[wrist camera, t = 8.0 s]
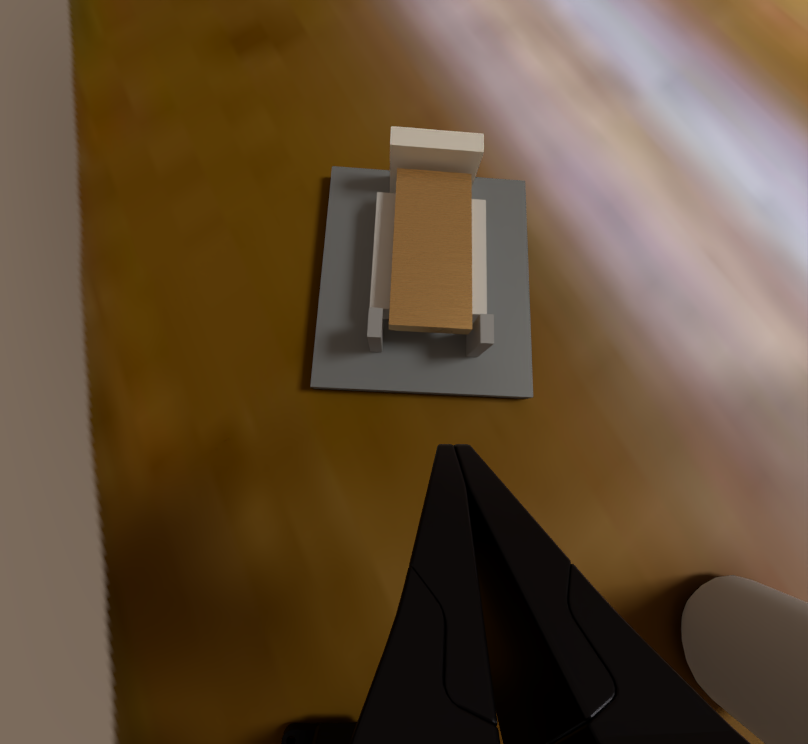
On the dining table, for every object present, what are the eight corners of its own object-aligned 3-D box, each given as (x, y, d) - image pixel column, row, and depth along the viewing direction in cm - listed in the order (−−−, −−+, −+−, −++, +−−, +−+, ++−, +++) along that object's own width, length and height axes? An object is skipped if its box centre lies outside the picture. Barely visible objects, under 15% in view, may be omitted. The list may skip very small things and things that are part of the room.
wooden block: (472, 329, 19) (471, 173, 21) (388, 324, 18) (397, 168, 21) (468, 334, 20) (467, 185, 22) (388, 330, 19) (396, 180, 22)
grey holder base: (526, 398, 22) (566, 389, 17) (313, 388, 22) (291, 376, 17) (519, 190, 25) (551, 132, 20) (334, 176, 25) (321, 113, 20)
